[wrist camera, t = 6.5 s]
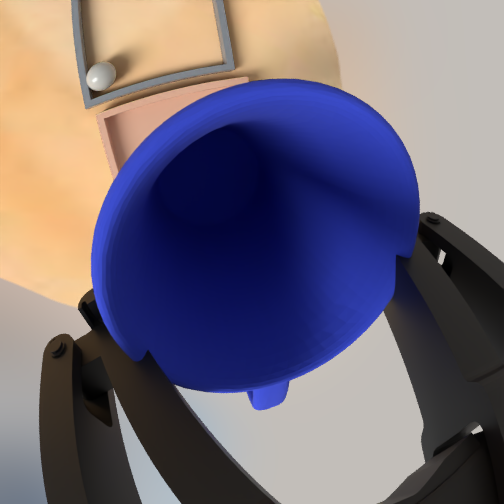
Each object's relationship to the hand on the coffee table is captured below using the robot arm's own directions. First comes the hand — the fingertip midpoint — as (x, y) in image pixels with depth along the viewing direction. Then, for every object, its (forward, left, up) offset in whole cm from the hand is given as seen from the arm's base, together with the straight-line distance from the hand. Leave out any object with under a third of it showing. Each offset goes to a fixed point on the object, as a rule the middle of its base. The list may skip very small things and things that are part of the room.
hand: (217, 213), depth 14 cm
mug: (0, 0, -1) cm, 1 cm away
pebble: (-11, -6, -16) cm, 20 cm away
